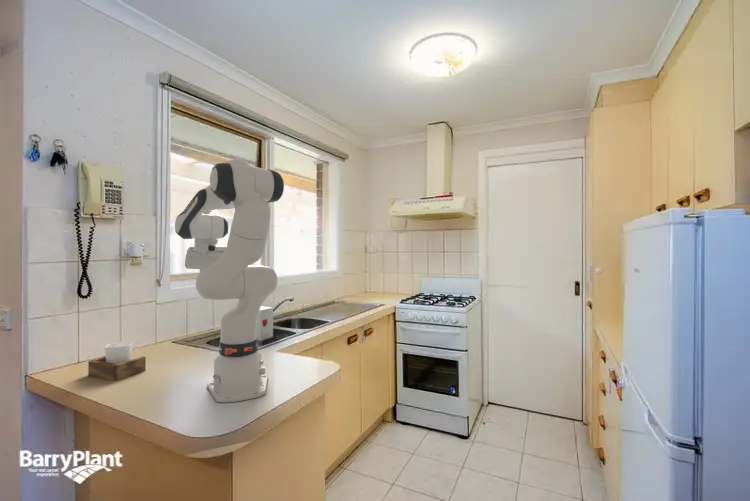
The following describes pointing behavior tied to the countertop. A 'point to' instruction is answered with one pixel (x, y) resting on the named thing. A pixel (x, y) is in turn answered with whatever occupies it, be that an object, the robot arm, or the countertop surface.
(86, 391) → the countertop surface
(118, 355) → the white cup
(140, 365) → the walnut rest
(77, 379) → the countertop surface
